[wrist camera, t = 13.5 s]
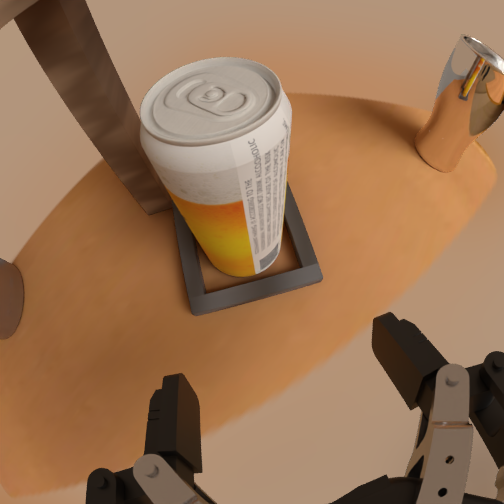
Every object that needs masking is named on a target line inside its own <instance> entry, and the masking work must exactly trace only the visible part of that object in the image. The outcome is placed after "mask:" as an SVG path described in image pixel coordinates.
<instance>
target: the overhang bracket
mask: <svg viewBox="0 0 504 504" xmlns="http://www.w3.org/2000/svg"><path fill="white" fill-rule="evenodd" d="M13 18H14V20H15V22H16V24H17V26H18V27H19V29H20V31H21V33H22V35H23V36H24V38H25V40H26V42H27V43H28V45H29V47H30V49H31V50H32V52H33V54H34V55H35V57H36V59H37V60H38V62H39V64H40V65H41V67H42V68H43V70H44V72H45V73H46V75H47V76H48V78H49V80H50V81H51V83H52V84H53V86H54V87H55V89H56V90H57V92H58V93H59V95H60V96H61V98H62V99H63V101H64V103H65V104H66V105H67V107H68V108H69V110H70V111H71V113H72V114H73V116H74V117H75V119H76V120H77V122H78V123H79V124H80V126H81V127H82V129H83V130H84V131H85V133H86V134H87V136H88V137H89V138H90V140H91V141H92V142H93V144H94V145H95V147H96V148H97V149H98V151H99V152H100V153H101V155H102V156H103V158H104V159H105V160H106V162H107V163H108V164H109V166H110V167H111V168H112V170H113V171H114V172H115V173H116V175H117V176H118V177H119V179H120V180H121V181H122V183H123V184H124V185H125V186H126V188H127V189H128V190H129V192H130V193H131V194H132V195H133V197H134V198H135V199H136V200H137V202H138V203H139V204H140V205H141V207H142V208H143V209H144V210H145V212H146V213H147V214H148V215H151V214H154V213H157V212H160V211H164V210H167V209H170V208H172V207H173V214H174V220H175V227H176V233H177V239H178V245H179V251H180V256H181V262H182V267H183V272H184V278H185V283H186V288H187V293H188V297H189V302H190V307H191V312H192V314H193V315H195V316H199V315H203V314H207V313H211V312H215V311H219V310H223V309H226V308H230V307H234V306H238V305H242V304H245V303H249V302H253V301H256V300H260V299H264V298H267V297H271V296H274V295H278V294H281V293H285V292H288V291H292V290H295V289H298V288H302V287H305V286H309V285H312V284H315V283H318V282H321V281H322V279H323V276H322V273H321V270H320V267H319V264H318V261H317V258H316V255H315V253H314V250H313V247H312V244H311V242H310V239H309V236H308V233H307V231H306V228H305V225H304V223H303V220H302V218H301V215H300V212H299V210H298V207H297V205H296V202H295V199H294V197H293V194H292V192H291V189H290V187H289V184H288V182H287V187H286V198H285V209H284V222H285V225H286V228H287V231H288V234H289V236H290V239H291V242H292V245H293V248H294V251H295V254H296V257H297V260H298V263H299V266H300V269H296V270H293V271H289V272H286V273H282V274H279V275H275V276H271V277H268V278H264V279H261V280H257V281H253V282H250V283H246V284H242V285H239V286H235V287H231V288H227V289H224V290H220V291H216V292H212V293H209V294H206V289H205V285H204V280H203V276H202V271H201V267H200V262H199V257H198V252H197V247H196V242H195V237H194V234H193V233H192V231H191V229H190V228H189V226H188V224H187V223H186V221H185V219H184V218H183V216H182V215H181V213H180V211H179V210H178V208H177V206H176V205H175V203H174V201H173V200H172V201H171V196H170V194H169V193H168V191H167V189H166V188H165V186H164V184H163V183H162V181H161V179H160V177H159V176H158V174H157V172H156V171H155V169H154V167H153V165H152V164H151V162H150V160H149V158H148V157H147V155H146V153H145V151H144V149H143V148H142V145H141V141H140V127H141V121H140V119H139V117H138V115H137V113H136V111H135V109H134V107H133V105H132V103H131V101H130V98H129V97H128V94H127V92H126V90H125V88H124V86H123V84H122V82H121V80H120V78H119V75H118V73H117V71H116V69H115V67H114V65H113V63H112V60H111V58H110V56H109V54H108V52H107V49H106V47H105V45H104V43H103V40H102V38H101V36H100V34H99V31H98V29H97V27H96V25H95V22H94V20H93V18H92V15H91V13H90V10H89V8H88V6H87V3H86V1H85V0H0V29H1V28H2V27H3V26H5V25H6V24H7V23H8V22H9V21H11V20H12V19H13Z"/></svg>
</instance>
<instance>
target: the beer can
mask: <svg viewBox="0 0 504 504" xmlns="http://www.w3.org/2000/svg"><path fill="white" fill-rule="evenodd" d="M140 119H141V127H140V141H141V145H142V148H143V149H144V151H145V153H146V155H147V157H148V158H149V160H150V162H151V164H152V165H153V167H154V169H155V171H156V172H157V174H158V176H159V177H160V179H161V181H162V183H163V184H164V186H165V188H166V189H167V191H168V193H169V194H170V196H171V198H172V200H173V201H174V203H175V205H176V206H177V208H178V210H179V211H180V213H181V215H182V216H183V218H184V219H185V221H186V223H187V224H188V226H189V228H190V229H191V231H192V233H193V234H194V236H195V237H196V239H197V241H198V242H199V244H200V245H201V247H202V249H203V250H204V252H205V253H206V255H207V257H208V258H209V260H210V261H211V263H212V264H213V265H214V266H215V267H216V268H217V269H218V270H220V271H221V272H223V273H225V274H228V275H231V276H236V277H248V276H252V275H256V274H258V273H260V272H262V271H264V270H265V269H267V268H268V267H269V266H270V265H271V264H272V263H273V262H274V261H275V259H276V258H277V256H278V254H279V251H280V248H281V241H282V231H283V220H284V209H285V198H286V187H287V174H288V162H289V149H290V135H291V120H292V109H291V105H290V102H289V100H288V98H287V96H286V94H285V93H284V91H283V90H282V86H281V83H280V80H279V78H278V77H277V76H276V74H275V73H274V72H273V71H272V70H270V69H269V68H268V67H266V66H264V65H262V64H260V63H258V62H255V61H252V60H248V59H243V58H236V57H219V58H210V59H204V60H200V61H196V62H193V63H190V64H187V65H184V66H182V67H180V68H178V69H176V70H174V71H172V72H170V73H168V74H167V75H165V76H164V77H162V78H161V79H160V80H159V81H158V82H156V83H155V84H154V85H153V86H152V87H151V88H150V89H149V91H148V92H147V93H146V95H145V97H144V98H143V101H142V103H141V107H140Z"/></svg>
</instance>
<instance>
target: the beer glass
mask: <svg viewBox="0 0 504 504" xmlns="http://www.w3.org/2000/svg"><path fill="white" fill-rule="evenodd" d="M503 111H504V59H503V58H502V57H501V56H500V55H498V54H497V53H496V52H494V51H493V50H492V49H491V48H489V47H488V46H487V45H485V44H483V43H482V42H480V41H479V40H477V39H475V38H473V37H471V36H468V35H465V34H461V36H460V39H459V41H458V42H457V44H456V46H455V48H454V50H453V52H452V54H451V55H450V57H449V60H448V62H447V64H446V66H445V69H444V71H443V74H442V77H441V80H440V83H439V87H438V91H437V95H436V99H435V103H434V107H433V110H432V113H431V116H430V118H429V120H428V121H427V123H426V124H425V125H424V126H423V128H422V129H421V130H420V131H419V132H418V133H417V135H416V136H415V146H416V149H417V151H418V153H419V154H420V156H421V157H422V158H423V159H424V160H425V161H426V162H427V163H428V164H429V165H430V166H432V167H433V168H435V169H437V170H439V171H442V172H452V171H453V170H455V168H456V167H457V165H458V163H459V161H460V159H461V156H462V155H463V153H464V151H465V150H466V148H467V147H468V146H469V145H470V144H471V143H472V142H473V141H474V140H475V139H477V138H478V137H479V136H480V135H481V134H483V133H484V132H485V131H486V130H487V129H488V128H489V127H490V126H491V125H492V124H493V123H494V122H495V121H496V120H497V119H498V118H499V116H500V115H501V114H502V112H503Z"/></svg>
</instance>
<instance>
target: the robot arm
mask: <svg viewBox="0 0 504 504" xmlns="http://www.w3.org/2000/svg"><path fill="white" fill-rule="evenodd" d="M23 299H24V290H23V282H22V277H21V274H20V272H19V270H18V269H17V267H15V266H14V265H13V264H11V263H9V262H7V261H5V260H3V259H1V258H0V339H6V338H8V337H10V336H11V335H12V334H13V332H14V331H15V329H16V327H17V326H18V323H19V320H20V317H21V313H22V308H23ZM372 331H373V332H372V349H373V352H374V354H375V356H376V358H377V359H378V361H379V362H380V364H381V365H382V367H383V368H384V370H385V371H386V373H387V374H388V376H389V377H390V379H391V381H392V382H393V384H394V385H395V387H396V388H397V390H398V391H399V393H400V394H401V396H402V398H403V399H404V401H405V402H406V404H407V406H408V407H409V409H410V410H413V409H414V408H416V407H418V406H419V407H420V409H421V415H420V421H419V426H418V431H417V436H416V441H415V445H414V449H413V453H412V456H411V458H410V461H409V463H408V466H407V469H406V473H405V476H404V477H395V478H389V479H388V477H387V475H384V476H382V477H380V478H377V479H375V480H373V481H370V482H368V483H366V484H363V485H361V486H358V487H357V488H355V489H354V490H352V491H351V492H349V493H348V494H346V495H344V496H343V497H341V498H339V499H338V500H336V501H334V502H332V503H329V504H504V353H503V352H499V351H495V352H491V353H489V354H488V355H487V356H486V358H485V360H484V362H483V363H482V364H479V365H475V366H472V367H468V368H464V367H462V366H460V365H457V364H449V363H448V362H447V361H446V359H444V357H443V356H442V355H441V354H440V352H439V351H438V350H437V349H436V348H435V347H434V346H433V345H432V343H431V342H430V341H429V340H427V338H426V337H425V336H424V335H423V333H421V331H420V330H419V329H418V328H417V327H416V326H415V324H413V323H411V322H409V321H407V320H405V319H402V320H400V321H399V320H398V319H397V318H396V317H395V315H394V314H393V313H391V312H388V313H386V314H383V315H381V316H378V317H376V318H374V319H373V330H372ZM468 418H470V419H471V421H472V422H473V424H474V426H475V427H476V429H477V431H478V432H479V434H480V436H481V437H482V439H483V441H484V443H485V445H486V446H487V448H488V450H489V452H490V454H491V456H492V457H493V459H494V461H495V463H496V465H497V467H498V469H499V471H498V473H497V476H496V481H495V487H496V488H497V489H498V491H497V497H496V499H491V498H486V497H481V496H476V495H472V494H468V493H464V491H465V487H466V482H467V477H468V471H469V465H470V458H471V451H472V442H473V426H472V424H469V421H468ZM194 473H202V456H201V434H200V406H199V401H198V398H197V395H196V393H195V392H194V390H193V389H192V387H191V386H190V384H189V382H188V381H187V379H186V378H185V376H184V375H183V374H182V373H179V374H174V375H168V376H164V378H163V384H162V389H159V390H156V391H155V392H154V394H153V396H152V398H151V399H150V405H149V413H148V421H147V430H146V440H145V450H144V455H143V456H142V457H140V458H139V459H138V460H137V461H136V463H135V464H134V467H131V468H129V469H125V470H122V471H119V472H115V473H113V472H111V471H110V470H108V469H105V468H99V469H96V470H94V471H93V472H92V473H91V474H90V475H89V477H88V481H87V491H86V504H217V503H216V502H215V501H214V500H213V499H212V498H211V497H209V496H208V495H207V494H206V493H205V492H204V491H203V490H202V489H201V488H200V487H199V486H198V485H197V484H196V483H195V482H194Z"/></svg>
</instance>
